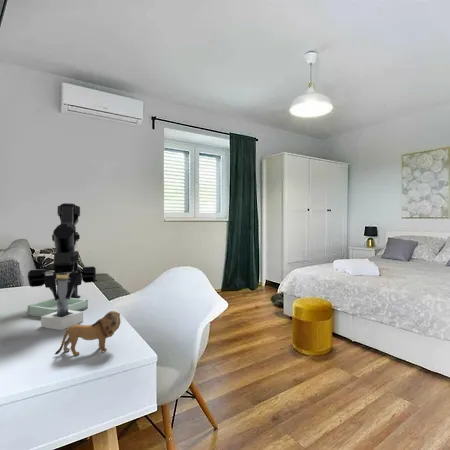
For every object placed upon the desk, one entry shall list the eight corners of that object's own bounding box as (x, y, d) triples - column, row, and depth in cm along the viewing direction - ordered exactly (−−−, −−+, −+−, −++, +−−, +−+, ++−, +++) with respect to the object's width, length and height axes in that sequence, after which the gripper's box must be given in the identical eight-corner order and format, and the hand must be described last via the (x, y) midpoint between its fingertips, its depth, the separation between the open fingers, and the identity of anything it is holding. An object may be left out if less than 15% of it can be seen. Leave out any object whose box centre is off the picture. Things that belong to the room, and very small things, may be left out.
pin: (63, 317, 93) (63, 272, 92) (72, 318, 91) (72, 273, 91) (53, 320, 89) (53, 274, 89) (62, 322, 88) (62, 275, 88)
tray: (60, 304, 111) (60, 296, 111) (87, 308, 107) (87, 299, 107) (27, 314, 99) (27, 305, 99) (56, 319, 94) (56, 309, 94)
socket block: (63, 318, 95) (63, 309, 95) (83, 321, 93) (83, 311, 93) (41, 326, 88) (41, 316, 88) (61, 330, 85) (61, 319, 85)
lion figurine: (119, 341, 78) (119, 307, 78) (121, 349, 73) (122, 313, 73) (55, 352, 71) (55, 315, 71) (53, 361, 66) (53, 322, 66)
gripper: (28, 243, 89) (21, 287, 80) (95, 242, 97) (96, 281, 88) (32, 265, 97) (26, 308, 87) (94, 262, 105) (95, 301, 95)
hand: (62, 299), depth 89 cm, fingers closed on pin, 3 cm apart
